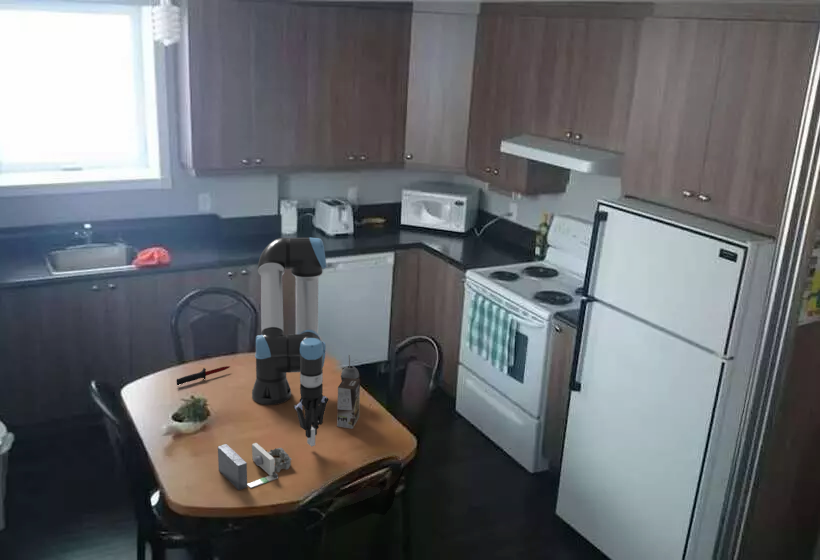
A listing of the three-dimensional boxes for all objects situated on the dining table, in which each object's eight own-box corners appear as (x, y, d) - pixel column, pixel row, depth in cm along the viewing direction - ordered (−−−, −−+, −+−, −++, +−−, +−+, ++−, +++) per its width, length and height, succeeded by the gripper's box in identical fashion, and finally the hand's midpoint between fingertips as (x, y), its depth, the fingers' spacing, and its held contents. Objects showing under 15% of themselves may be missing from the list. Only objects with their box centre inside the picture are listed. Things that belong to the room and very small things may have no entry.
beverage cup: (344, 408, 304) (345, 361, 297) (337, 400, 310) (338, 354, 303) (361, 405, 307) (363, 358, 301) (354, 397, 313) (355, 351, 307)
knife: (178, 388, 314) (177, 376, 312) (176, 386, 315) (175, 375, 313) (231, 372, 329) (231, 361, 328) (229, 371, 330) (229, 360, 329)
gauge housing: (218, 470, 260) (217, 446, 257) (255, 457, 268) (254, 434, 266) (240, 492, 249) (240, 467, 246) (278, 478, 257) (277, 454, 254)
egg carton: (259, 459, 268) (259, 449, 267) (280, 454, 272) (280, 443, 271) (272, 474, 260) (272, 464, 258) (293, 468, 263) (293, 458, 262)
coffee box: (353, 429, 289) (354, 389, 284) (336, 426, 291) (337, 387, 285) (359, 417, 298) (360, 378, 293) (343, 415, 299) (344, 376, 294)
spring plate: (248, 461, 266) (247, 445, 264) (256, 458, 268) (256, 442, 266) (269, 480, 255) (269, 464, 253) (278, 477, 257) (277, 461, 255)
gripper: (300, 392, 259) (300, 454, 267) (333, 382, 267) (332, 443, 275) (288, 384, 265) (289, 445, 273) (321, 374, 273) (321, 433, 281)
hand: (311, 444), depth 274 cm, fingers closed
